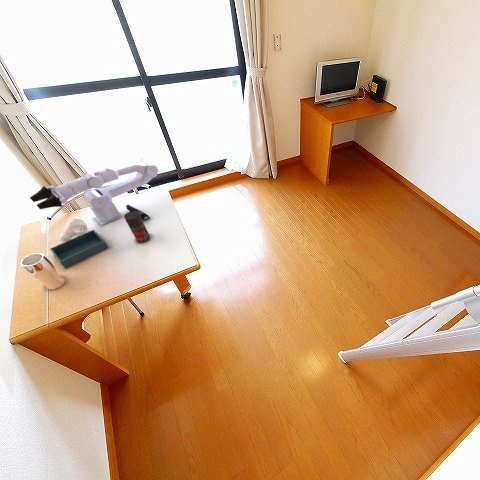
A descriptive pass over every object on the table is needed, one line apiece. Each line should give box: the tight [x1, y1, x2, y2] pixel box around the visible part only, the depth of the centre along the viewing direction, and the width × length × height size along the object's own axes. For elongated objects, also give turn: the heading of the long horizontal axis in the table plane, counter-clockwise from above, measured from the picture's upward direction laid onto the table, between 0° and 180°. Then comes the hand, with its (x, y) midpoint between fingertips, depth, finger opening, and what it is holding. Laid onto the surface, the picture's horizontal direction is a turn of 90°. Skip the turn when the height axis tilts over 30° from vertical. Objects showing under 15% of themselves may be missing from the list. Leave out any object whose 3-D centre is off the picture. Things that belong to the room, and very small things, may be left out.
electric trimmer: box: [125, 204, 151, 222], centre depth 146 cm, size 4×16×3 cm, turn 58°
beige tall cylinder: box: [20, 252, 66, 290], centre depth 108 cm, size 7×7×15 cm
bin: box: [49, 229, 109, 270], centre depth 124 cm, size 17×11×4 cm, turn 141°
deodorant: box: [123, 211, 151, 244], centre depth 129 cm, size 6×6×15 cm
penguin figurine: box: [59, 216, 88, 243], centre depth 129 cm, size 6×8×12 cm
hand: (34, 203), depth 116 cm, fingers open, 7 cm apart
